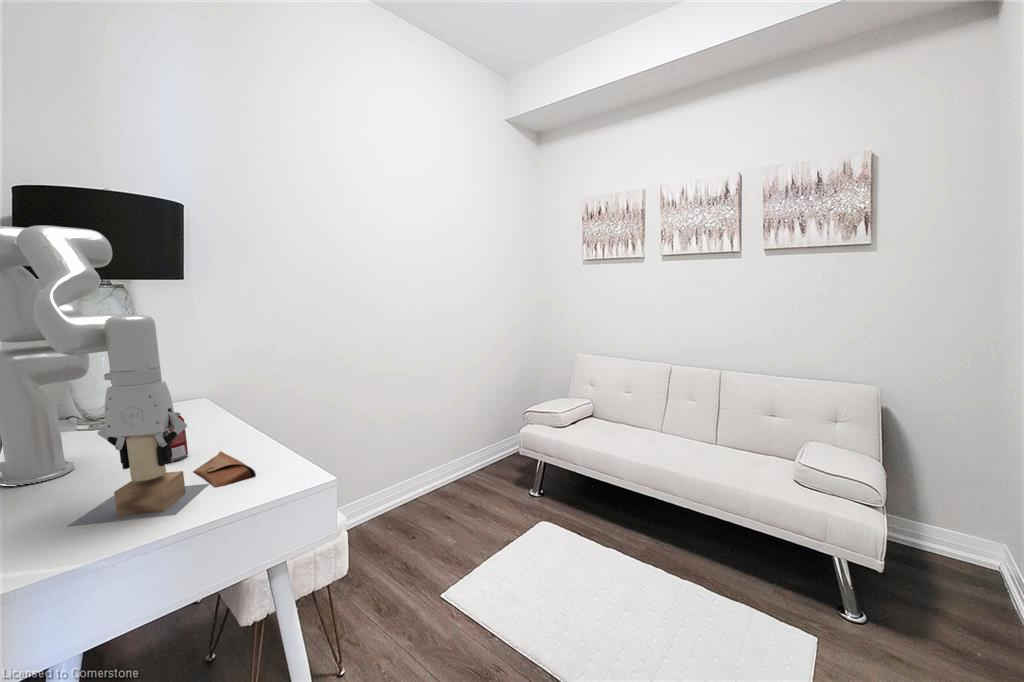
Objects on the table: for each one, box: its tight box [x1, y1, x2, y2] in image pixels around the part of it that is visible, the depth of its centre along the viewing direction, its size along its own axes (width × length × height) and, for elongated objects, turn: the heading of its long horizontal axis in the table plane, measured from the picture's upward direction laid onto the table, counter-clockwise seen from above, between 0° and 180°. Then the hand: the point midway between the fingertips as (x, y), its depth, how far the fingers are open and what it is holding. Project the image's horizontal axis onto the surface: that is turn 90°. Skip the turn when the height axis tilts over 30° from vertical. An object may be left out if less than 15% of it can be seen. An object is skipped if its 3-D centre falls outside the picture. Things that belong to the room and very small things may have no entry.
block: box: [113, 470, 186, 516], centre depth 89 cm, size 8×8×5 cm
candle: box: [126, 435, 167, 481], centre depth 88 cm, size 6×6×10 cm
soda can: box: [168, 411, 189, 463], centre depth 114 cm, size 7×7×12 cm
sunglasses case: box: [192, 451, 257, 489], centre depth 104 cm, size 18×7×7 cm, turn 54°
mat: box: [66, 483, 210, 527], centre depth 90 cm, size 18×14×1 cm
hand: (147, 464), depth 88 cm, fingers closed on candle, 5 cm apart
